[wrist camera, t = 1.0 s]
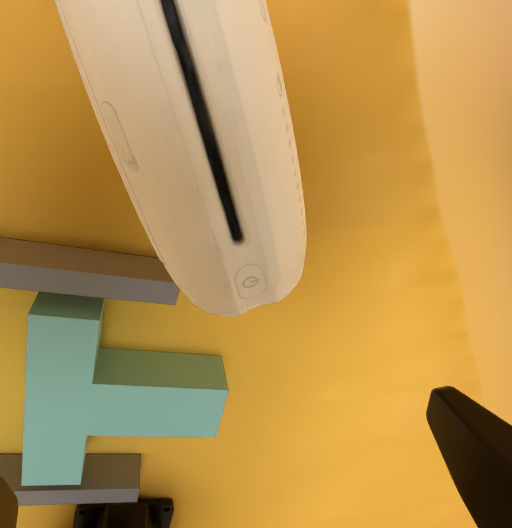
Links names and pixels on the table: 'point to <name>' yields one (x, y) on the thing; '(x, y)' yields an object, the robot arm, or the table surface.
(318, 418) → the table surface
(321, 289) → the table surface
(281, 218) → the photo printer
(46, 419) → the t block
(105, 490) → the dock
